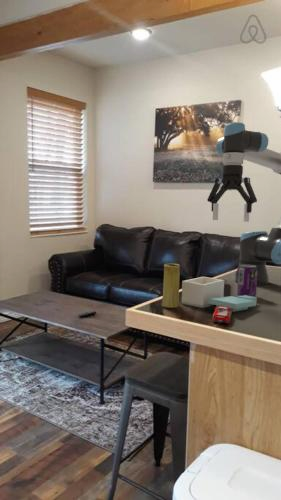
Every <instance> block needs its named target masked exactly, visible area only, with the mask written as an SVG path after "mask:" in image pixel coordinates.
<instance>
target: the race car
mask: <svg viewBox="0 0 281 500" xmlns="http://www.w3.org/2000/svg"><path fill="white" fill-rule="evenodd" d="M213 308H214V312H213V314H212V322H213V323H221V324H230V323H231V321H232V320H231V319H232V315H233V312H232V309H230V308H228V307H221V306H219V307H217V308H216V307H213Z"/></svg>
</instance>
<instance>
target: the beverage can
mask: <svg viewBox="0 0 281 500" xmlns="http://www.w3.org/2000/svg"><path fill="white" fill-rule="evenodd" d="M257 272H258V271H257V268H256V266H255V265H246V264H244V265H240V268H239V270H238V282H237V288H236V289H237V293H236V294H237V296H244V295H247V296H252V297H256V296H257V289H258V288H257V287H258V286H257Z"/></svg>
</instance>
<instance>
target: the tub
mask: <svg viewBox="0 0 281 500" xmlns="http://www.w3.org/2000/svg"><path fill="white" fill-rule="evenodd" d="M181 284H182V285H181V304H183V305H187V306H190V307H191V306H192V307H197V308H201V309H206V308H208V307H211V305H212V306H215V305H214V304H209V299H210V298H218V297H225V296H224V295H225V294H224V292H225V279H220V278H214V277H209V276H208V277H207V276H200V277H196V278H191V279H186V280H182V281H181Z"/></svg>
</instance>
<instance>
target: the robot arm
mask: <svg viewBox="0 0 281 500" xmlns="http://www.w3.org/2000/svg"><path fill="white" fill-rule="evenodd" d="M215 145H216V146H215V147H216V151H217V153H218V154H219V155H221V156H223V157H222V158H223V159H222V160H223V161H222V164H223V166H222V178H220V177H216V178H215V179H214V185H213V187H212V189H211V191H210V193H209V195H208V197H207V202H209V203H211V212H212V221H218V220H219V203H218V202H219V201H220V199H221V198H222V197H223V195H224V194H225V193H226V192H227V191H228V190H229V191H232V190H234V191H237V192H238V193H239V194H240V196H241V198H242V199H243V200H244V202H245V204H244V206H243V207H244V208H243V209H244V210H243V222H244V223H246V222H247V223H248V222H250V214H251V213H252V207H253V204H254V203H257V202H258V199H257V196H256V195H255V191H254V189H253V187H252V184H251V178H250V177H248V176H247V177H246V176H245V177H243V174H244V173H243V172H244V166H243V164H244V161H247V162H250V163H253V164H256V165H259V166H262V167H265V168H268V169H270V170H272V171H273V173H276V174H278V175H281V152H276V151H275V150H271V149H269V148H267V147H268V146H269V136H268V135H267V134H266V133H263V132H260V131H252V130H247V129H246V124H244V123H243V122H235V121H234V122H229V123H227V124H225V125H224V131H223V137H220V138H218V140H217V141H216V144H215ZM221 184H222V185H221ZM242 184H243V185H244V187H245V189H244V187H243V186H242ZM245 190H246V191H245ZM267 262H268V263H273V264H276V265H281V217H280V218H279V220H278V222H277V224H276V226H273V227H272V228H271V230H270V231H269V233H268V231H266V230H258V231H247V232H246V231H244V232H242V233H241V235H240V241H239V264H238V267H237V270H236V272H235V275H234V282H236V283H238V270H239V268H240V265H244V264H246V265H255V266H256V268H257V271H258V272H257V285H258V286H259V285H260V286H261V285H268V284H270V283H269V282H270V277H269V273H268V270H267Z"/></svg>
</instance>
